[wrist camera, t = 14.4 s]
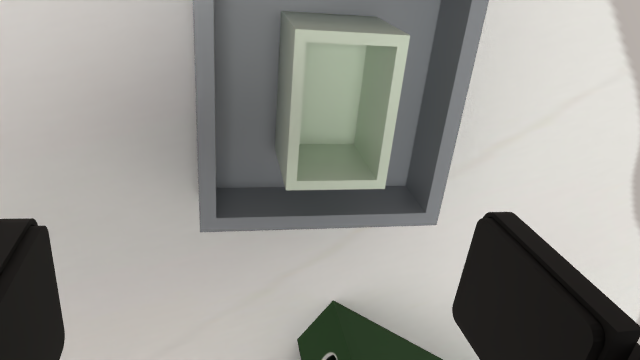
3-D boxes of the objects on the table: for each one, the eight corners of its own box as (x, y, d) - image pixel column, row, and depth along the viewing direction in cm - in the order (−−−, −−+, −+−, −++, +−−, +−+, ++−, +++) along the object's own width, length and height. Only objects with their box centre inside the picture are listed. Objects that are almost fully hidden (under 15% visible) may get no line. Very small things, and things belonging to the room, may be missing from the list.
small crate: (359, 148, 34) (384, 188, 29) (274, 148, 33) (285, 190, 27) (376, 16, 30) (410, 35, 25) (281, 10, 29) (295, 29, 23)
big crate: (411, 190, 38) (436, 225, 33) (202, 193, 34) (200, 232, 30) (457, -47, 30) (498, -43, 26) (195, -73, 27) (190, -73, 22)
